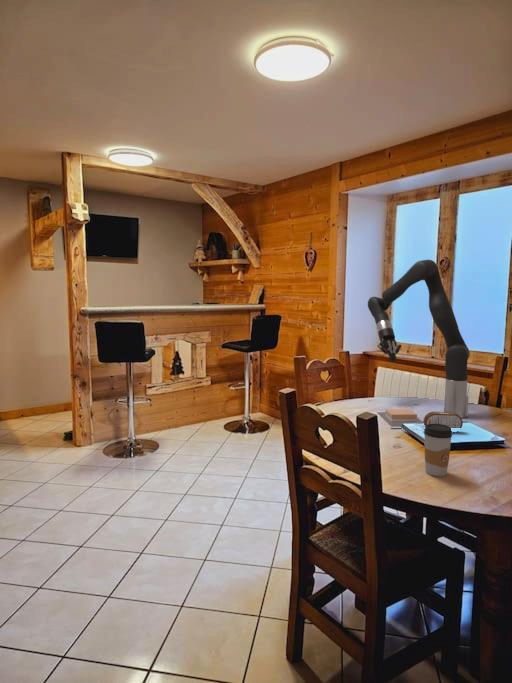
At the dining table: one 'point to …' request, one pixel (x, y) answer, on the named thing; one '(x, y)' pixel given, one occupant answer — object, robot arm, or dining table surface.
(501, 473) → the dining table surface
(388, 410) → the tile
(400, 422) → the slate board
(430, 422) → the tin
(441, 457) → the coffee cup
